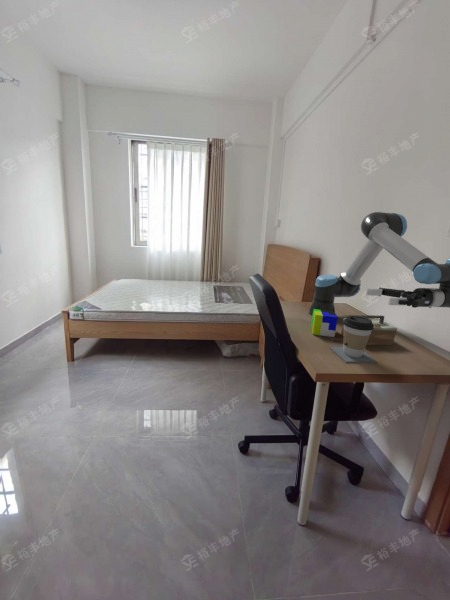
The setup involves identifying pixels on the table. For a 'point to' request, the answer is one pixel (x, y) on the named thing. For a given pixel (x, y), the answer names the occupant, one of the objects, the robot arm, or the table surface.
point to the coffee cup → (356, 335)
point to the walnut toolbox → (379, 331)
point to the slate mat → (347, 359)
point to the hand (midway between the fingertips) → (377, 296)
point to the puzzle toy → (324, 322)
